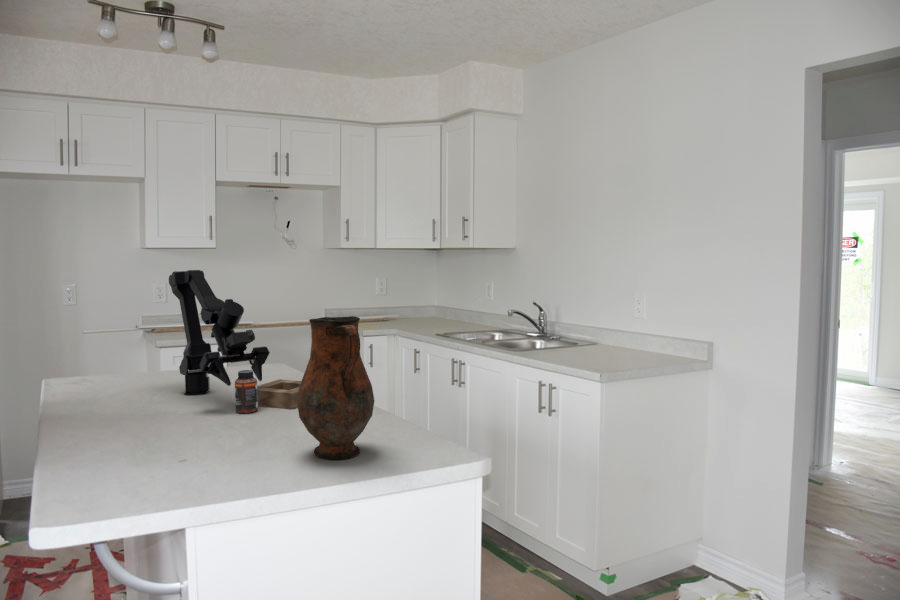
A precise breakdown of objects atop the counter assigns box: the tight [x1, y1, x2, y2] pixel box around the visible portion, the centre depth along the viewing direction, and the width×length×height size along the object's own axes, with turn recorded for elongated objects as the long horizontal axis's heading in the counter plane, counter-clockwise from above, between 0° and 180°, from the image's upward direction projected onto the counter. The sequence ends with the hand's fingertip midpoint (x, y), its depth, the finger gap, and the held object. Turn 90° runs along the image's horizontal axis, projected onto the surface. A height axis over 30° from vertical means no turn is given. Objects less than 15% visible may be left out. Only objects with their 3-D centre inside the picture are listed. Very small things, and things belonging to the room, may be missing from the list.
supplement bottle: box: [234, 369, 259, 414], centre depth 186 cm, size 6×6×11 cm
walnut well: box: [257, 378, 302, 410], centre depth 199 cm, size 16×16×4 cm
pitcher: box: [297, 315, 375, 461], centre depth 145 cm, size 17×21×30 cm
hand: (245, 382), depth 186 cm, fingers open, 9 cm apart
